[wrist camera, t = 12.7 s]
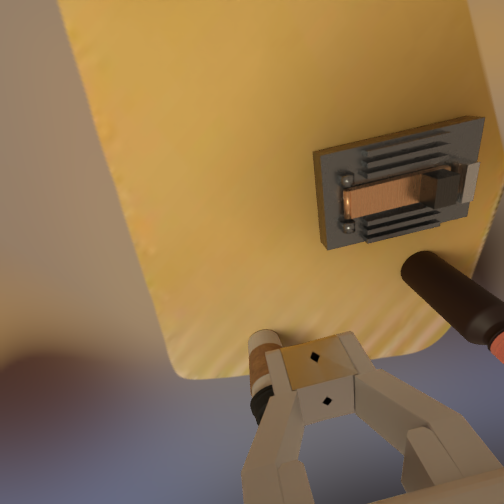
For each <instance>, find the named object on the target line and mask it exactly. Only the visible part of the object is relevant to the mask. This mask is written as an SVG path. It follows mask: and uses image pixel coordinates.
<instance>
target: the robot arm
mask: <svg viewBox="0 0 504 504" xmlns="http://www.w3.org/2000/svg"><path fill="white" fill-rule="evenodd" d="M265 357H266V361H267V365H268V370H269V374H270V378H271V383H272V387H273V391H274V396H272V397H270V398H269V401H268V404H267V406H266V409H265V411H264V414H263V417H262V419H261V422H260V425H259V427H258V430H257V432H256V435H255V438H254V440H253V443H252V445H251V448H250V451H249V453H248V456H247V458H246V461H245V464H244V466H243V469H242V471H241V477H242V488H243V499H244V504H315V503H314V500H313V496H312V492H311V489H310V485H309V482H308V478H307V475H306V471H305V467H304V464H303V463H301V462H300V461H298V455H299V451H300V446H301V441H302V437H303V432H304V426H306V425H309V424H312V423H316V422H319V421H323V420H326V419H330V418H334V417H339V416H343V415H347V414H351V413H356V415H357V416H358V417H359V418H361V419H362V420H363V421H364V422H365V423H367V424H368V425H369V426H370V427H371V428H372V429H374V430H375V431H376V432H377V433H378V434H379V435H381V436H382V437H383V438H384V439H385V440H386V441H388V442H389V443H390V444H391V445H392V446H393V447H395V448H396V449H397V450H398V451H399V452H400V453H402V454H403V455H404V462H403V470H402V478H401V482H402V484H403V486H404V488H405V491H406V492H407V493H406V494H402V495H399V496H395V497H391V498H387V499H384V500H380V501H376V502H373V503H369V504H504V467H503V466H502V465H501V463H499V461H498V460H497V459H496V457H495V456H494V455H493V454H492V452H491V451H490V450H489V449H488V447H487V446H486V445H485V443H484V442H483V441H482V440H481V439H480V437H479V436H478V435H477V433H476V432H475V431H474V430H473V429H472V427H471V426H470V425H469V423H468V422H467V421H466V420H465V418H464V417H463V416H462V415H461V414H459V413H457V412H455V411H454V410H452V409H450V408H448V407H447V406H445V405H443V404H442V403H440V402H438V401H436V400H435V399H433V398H431V397H429V396H427V395H426V394H424V393H422V392H421V391H419V390H417V389H415V388H414V387H412V386H410V385H408V384H406V383H405V382H403V381H401V380H399V379H398V378H396V377H394V376H393V375H391V374H389V373H387V372H386V371H384V370H382V369H378V370H376V369H375V367H374V366H373V364H372V362H371V361H370V359H369V357H368V356H367V354H366V353H365V351H364V349H363V348H362V346H361V345H360V343H359V341H358V340H357V338H356V337H355V335H354V333H353V332H351V331H348V332H344V333H340V334H336V335H332V336H328V337H324V338H320V339H316V340H313V341H309V342H307V343H302V344H298V345H293V346H289V347H284V348H280V349H276V350H272V351H268V352H265Z"/></svg>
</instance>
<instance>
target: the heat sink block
mask: <svg viewBox="0 0 504 504" xmlns="http://www.w3.org/2000/svg"><path fill="white" fill-rule="evenodd" d="M484 121H485V117H474V116H464V117H460V118H456V119H451V120H447V121H443V122H439V123H434V124H430V125H426V126H421V127H417V128H413V129H409V130H404V131H400V132H396V133H391V134H387V135H383V136H378V137H374V138H370V139H366V140H361V141H357V142H353V143H348V144H344V145H340V146H336V147H331V148H327V149H323V150H318V151H314V152H313V161H314V172H315V183H316V195H317V206H318V217H319V228H320V240H321V243H322V244H323V245H324V246H325V248H326V249H327V250H331V249H335V248H339V247H343V246H347V245H352V244H356V243H360V242H364V241H365V242H366V243H367V244H368V243H372V242H376V241H380V240H384V239H389V238H393V237H397V236H401V235H405V234H409V233H413V232H417V231H421V230H425V229H430V228H434V227H438V226H440V223H442V222H446V221H450V220H454V219H458V218H462V217H467V214H468V208H469V203H470V201H473V198H474V192H475V187H476V182H477V176H478V171H479V166H480V162H478V161H477V159H478V153H479V148H480V142H481V137H482V132H483V126H484ZM442 165H447V166H451V171H452V172H456V173H459V174H461V175H460V181H459V188H458V194H457V200H456V204H454V205H450V206H446V207H442V208H438V209H432V208H430V207H428V206H426V205H424V204H422V203H420V202H418V203H414V204H410V205H406V206H402V207H398V208H394V209H390V210H385V211H381V212H377V213H373V214H369V215H365V216H361V217H357V218H353V219H344V202H343V190H344V189H347V188H351V187H355V186H360V185H364V184H368V183H372V182H376V181H380V180H384V179H388V178H393V177H397V176H401V175H405V174H409V173H413V172H417V171H421V170H426V169H430V168H434V167H438V166H442Z"/></svg>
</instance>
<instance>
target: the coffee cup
mask: <svg viewBox="0 0 504 504" xmlns="http://www.w3.org/2000/svg"><path fill="white" fill-rule="evenodd" d="M280 348H283V346H282V344H281V341H280V339H279V337H278V335H277V334H276V333H275V332H274V331H271V330H260V331H258V332H256V333H254V334H253V335H252V336H251V337H250V339H249V341H248V349H249V369H250V387H251V388H250V389H251V395H252V400H251V404H250V406H251V410H252V413H253V415H254V416H255V418H256V421H257V424H258V426H259V425H260V422H261V419H262V417H263V414H264V411H265V409H266V406H267V404H268V401H269V398H270V397H272V396H274V391H273V387H272V383H271V378H270V374H269V370H268V365H267V361H266V357H265V352H268V351H272V350H276V349H280Z"/></svg>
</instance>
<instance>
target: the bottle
mask: <svg viewBox="0 0 504 504" xmlns="http://www.w3.org/2000/svg"><path fill="white" fill-rule="evenodd" d="M401 276H402V279H403V281H405V282H406V283H407V284H408V285H409V286H410V287H411V288H412V289H413V290H414V291H415V292H416V293H417V294H418V295H419V296H420V297H422V298H423V299H424V300H425V301H426V302H427V303H428V304H429V305H430V306H431V307H432V308H433V309H434V310H435V311H436V312H438V313H439V314H440V315H441V316H442V317H443V318H444V319H445V320H446V321H447V322H448V323H449V324H450V325H451V326H452V327H453V328H455V329H456V330H457V331H458V332H459V333H460V334H461V335H462V336H463V337H464V338H465V339H466V340H467V341H469V342H470V343H474V344H479V345H487V346H488V349H489V350H490V351H491V352H492V354H493V355H495V356H496V357H497V358H498V359H499V360H500V361H501V362H502V363H503V364H504V302H503V301H501V300H500V299H499V298H497V297H496V296H494V295H493V294H491V293H490V292H489V291H487V290H485V289H484V288H483V287H481V286H480V285H478V284H477V283H475V282H474V281H473V280H471V279H470V278H468V277H467V276H466V275H464V274H463V273H461V272H460V271H458V270H457V269H456V268H454V267H453V266H451V265H450V264H448V263H447V262H445V261H444V260H443V259H441V258H440V257H438V256H437V255H435V254H434V253H431V252H428V251H423V252H419V253H416V254H415V255H413V256H411V257H410V258H409V259H408V260H407V261H406V262H405V263H404V265H403V267H402V270H401Z"/></svg>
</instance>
